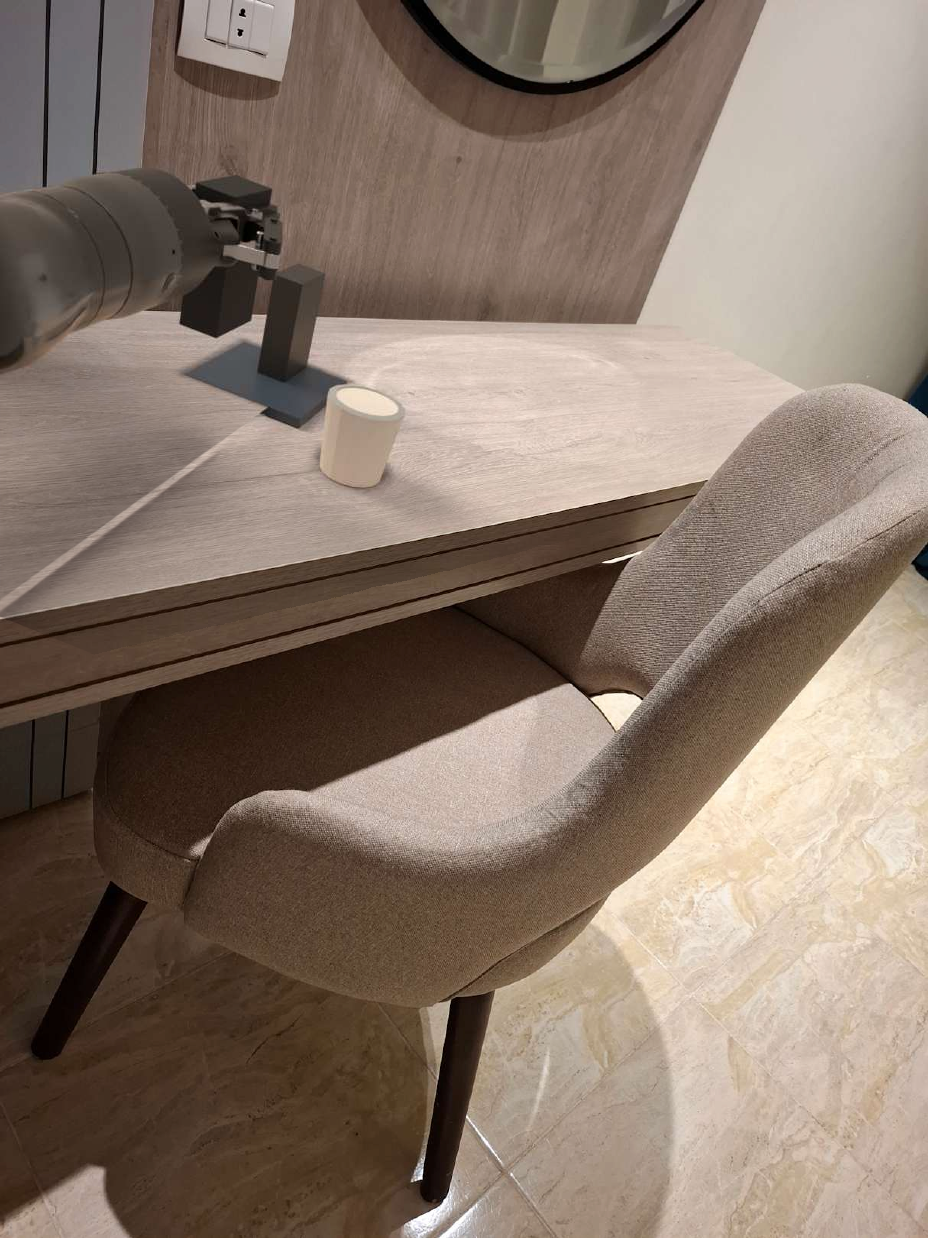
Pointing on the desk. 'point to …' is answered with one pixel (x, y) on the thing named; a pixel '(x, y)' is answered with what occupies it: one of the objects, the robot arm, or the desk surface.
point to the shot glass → (358, 434)
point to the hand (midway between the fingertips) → (248, 209)
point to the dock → (266, 388)
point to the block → (224, 268)
